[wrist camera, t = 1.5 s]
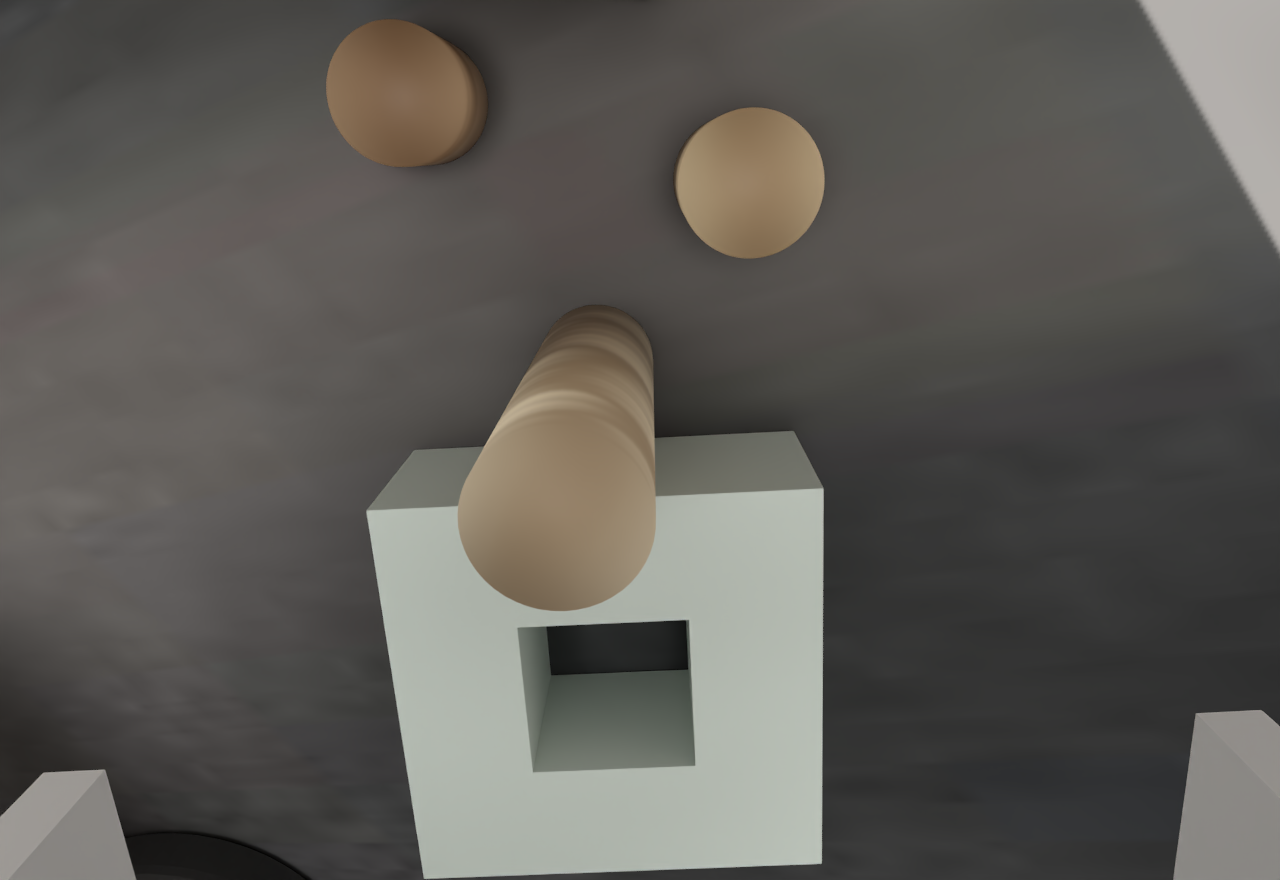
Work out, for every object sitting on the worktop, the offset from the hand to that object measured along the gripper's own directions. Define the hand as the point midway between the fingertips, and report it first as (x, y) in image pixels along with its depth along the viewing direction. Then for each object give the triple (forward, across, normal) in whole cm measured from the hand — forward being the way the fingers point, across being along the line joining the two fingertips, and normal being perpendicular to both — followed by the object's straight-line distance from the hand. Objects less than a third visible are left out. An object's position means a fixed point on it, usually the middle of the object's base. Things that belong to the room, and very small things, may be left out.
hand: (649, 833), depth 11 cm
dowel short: (+23, -7, +10) cm, 26 cm away
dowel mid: (+23, +3, +7) cm, 24 cm away
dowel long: (+23, -2, +1) cm, 23 cm away
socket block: (+23, -2, -9) cm, 25 cm away
